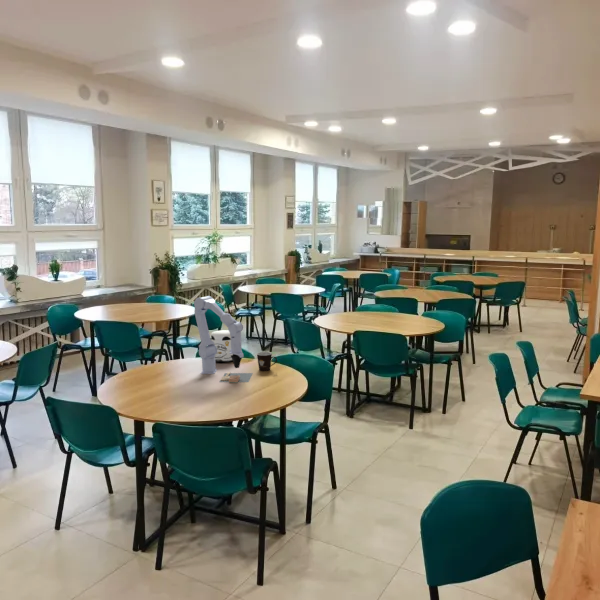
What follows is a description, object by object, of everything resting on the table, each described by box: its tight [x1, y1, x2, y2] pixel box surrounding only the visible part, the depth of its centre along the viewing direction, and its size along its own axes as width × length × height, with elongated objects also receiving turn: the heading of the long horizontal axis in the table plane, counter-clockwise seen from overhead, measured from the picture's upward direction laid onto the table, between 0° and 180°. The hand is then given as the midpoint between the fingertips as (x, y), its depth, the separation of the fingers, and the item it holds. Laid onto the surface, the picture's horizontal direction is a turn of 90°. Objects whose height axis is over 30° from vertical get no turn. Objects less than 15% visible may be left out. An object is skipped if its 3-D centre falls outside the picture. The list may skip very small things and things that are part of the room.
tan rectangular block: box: [228, 375, 240, 384], centre depth 297 cm, size 2×5×7 cm
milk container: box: [210, 329, 233, 363], centre depth 342 cm, size 17×17×18 cm
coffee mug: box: [256, 351, 278, 372], centre depth 317 cm, size 12×9×10 cm
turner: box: [220, 371, 231, 381], centre depth 305 cm, size 14×4×1 cm, turn 177°
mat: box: [219, 372, 253, 383], centre depth 303 cm, size 18×16×1 cm
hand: (236, 367), depth 306 cm, fingers closed
